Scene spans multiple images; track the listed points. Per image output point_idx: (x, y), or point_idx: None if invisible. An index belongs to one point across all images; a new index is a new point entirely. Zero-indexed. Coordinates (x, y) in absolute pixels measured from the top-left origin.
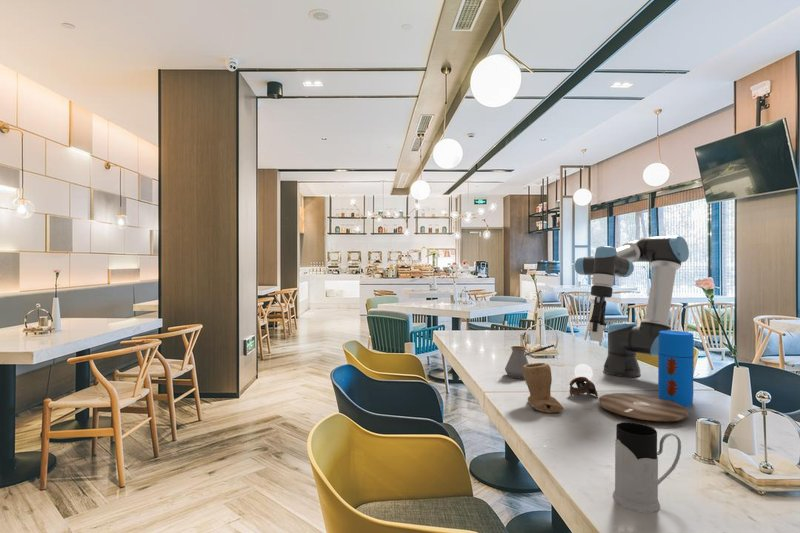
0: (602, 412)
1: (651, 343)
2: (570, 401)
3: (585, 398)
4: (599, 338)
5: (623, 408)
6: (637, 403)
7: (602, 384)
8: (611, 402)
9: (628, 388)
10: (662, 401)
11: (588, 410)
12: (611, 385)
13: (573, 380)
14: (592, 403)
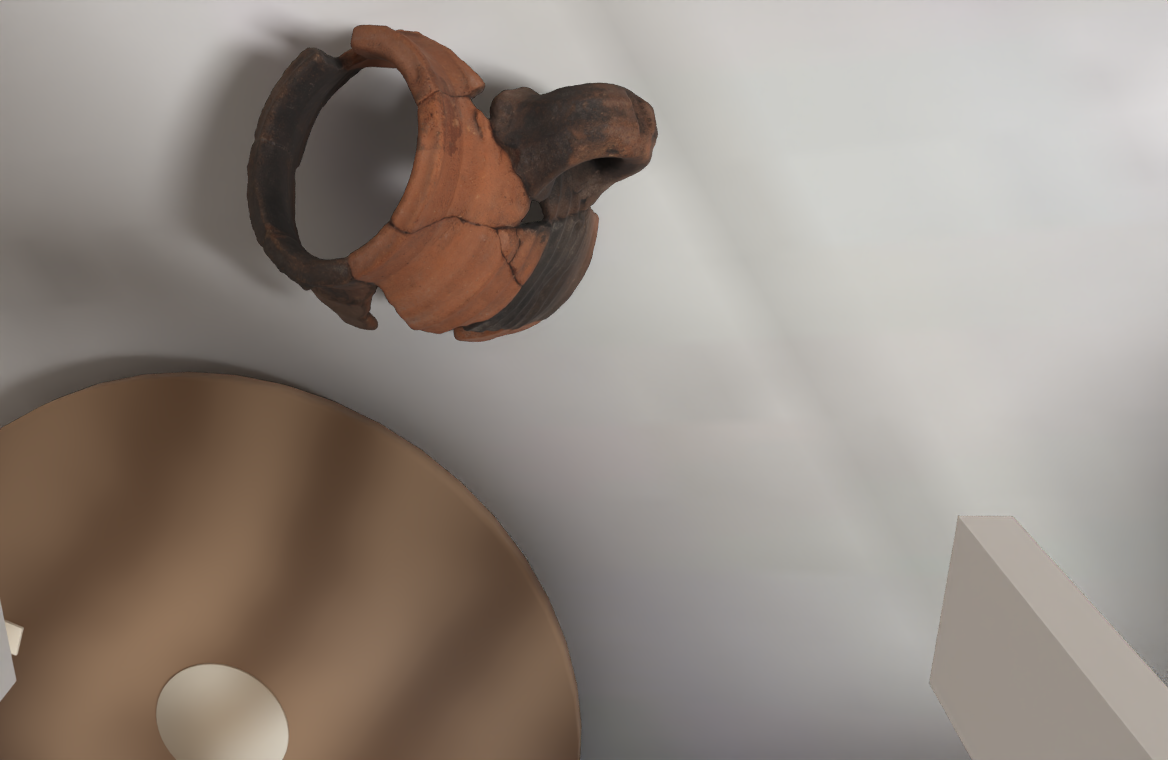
0: (39, 398)
1: None
2: (190, 81)
3: None
4: (974, 680)
5: (3, 585)
6: (223, 698)
7: (1156, 351)
8: (119, 492)
9: None
10: None
11: (15, 281)
12: (1149, 452)
13: (400, 70)
14: (256, 298)
